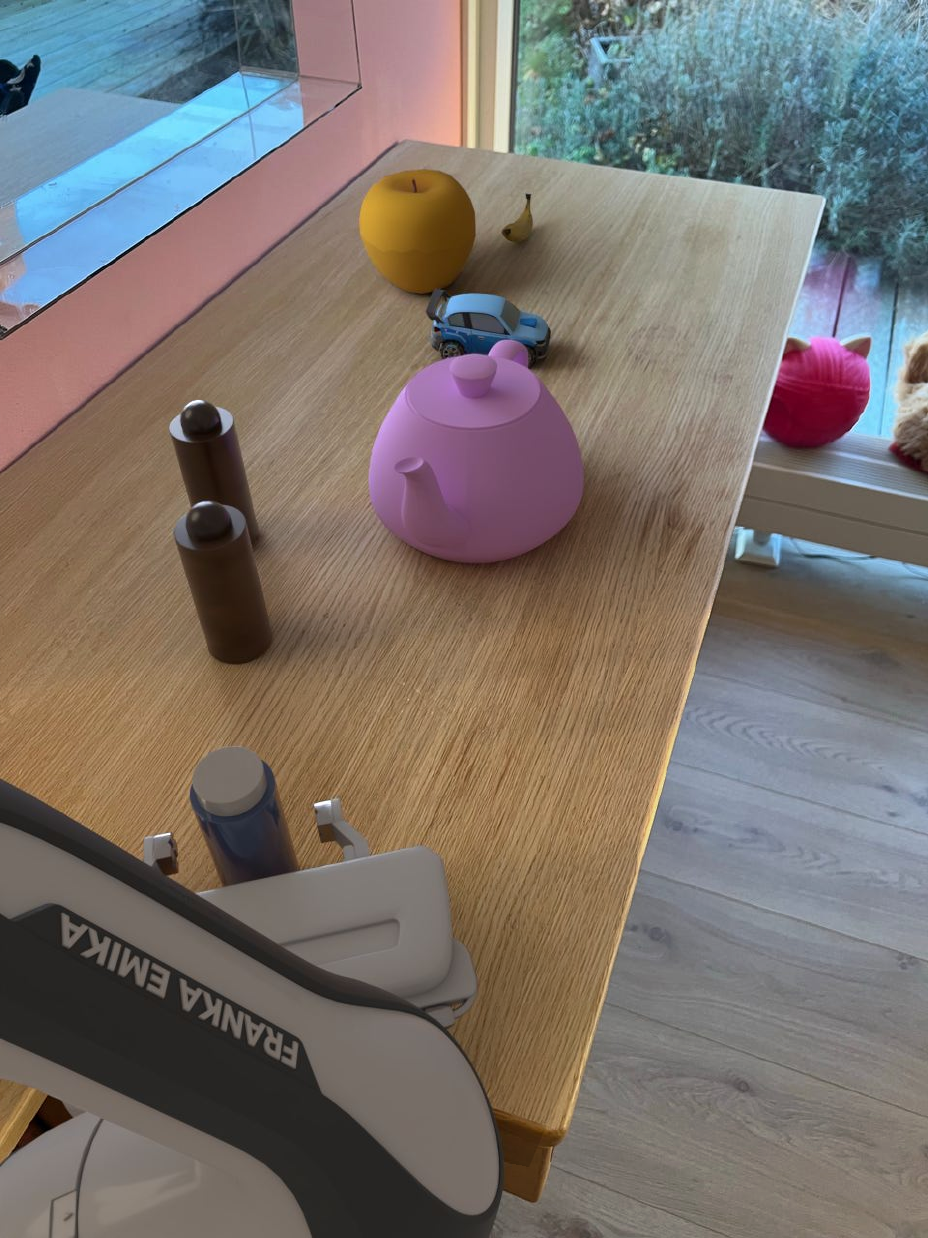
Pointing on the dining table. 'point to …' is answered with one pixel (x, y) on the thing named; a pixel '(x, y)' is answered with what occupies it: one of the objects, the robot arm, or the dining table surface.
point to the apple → (418, 229)
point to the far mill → (212, 459)
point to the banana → (520, 225)
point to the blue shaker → (241, 816)
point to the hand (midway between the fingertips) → (245, 822)
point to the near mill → (224, 581)
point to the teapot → (476, 460)
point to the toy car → (484, 325)
